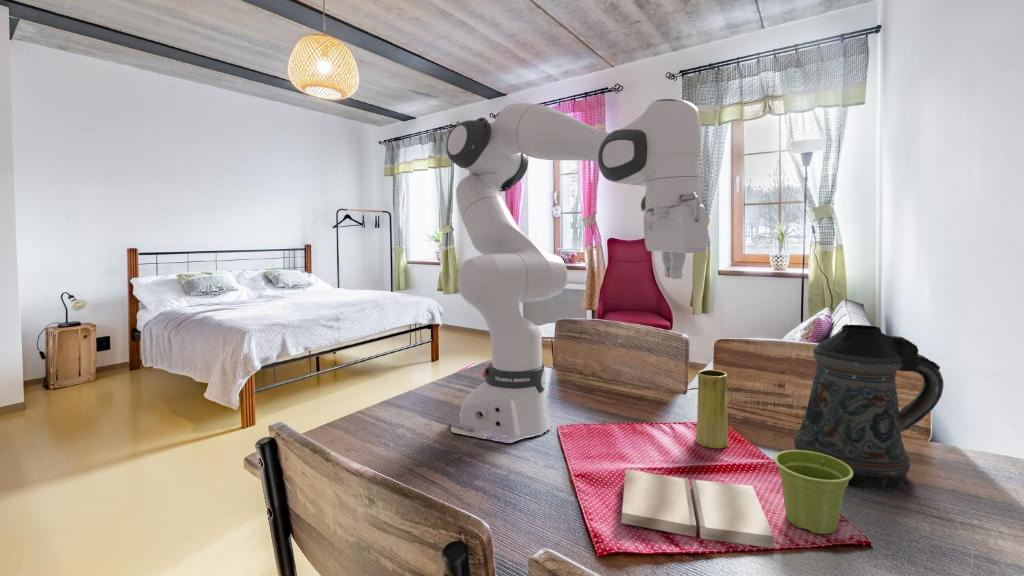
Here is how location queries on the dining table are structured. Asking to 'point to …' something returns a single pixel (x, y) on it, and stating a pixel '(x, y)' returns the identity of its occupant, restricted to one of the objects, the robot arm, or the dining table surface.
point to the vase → (712, 409)
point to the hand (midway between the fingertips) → (673, 278)
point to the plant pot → (812, 488)
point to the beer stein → (866, 404)
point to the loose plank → (658, 503)
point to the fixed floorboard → (730, 514)
